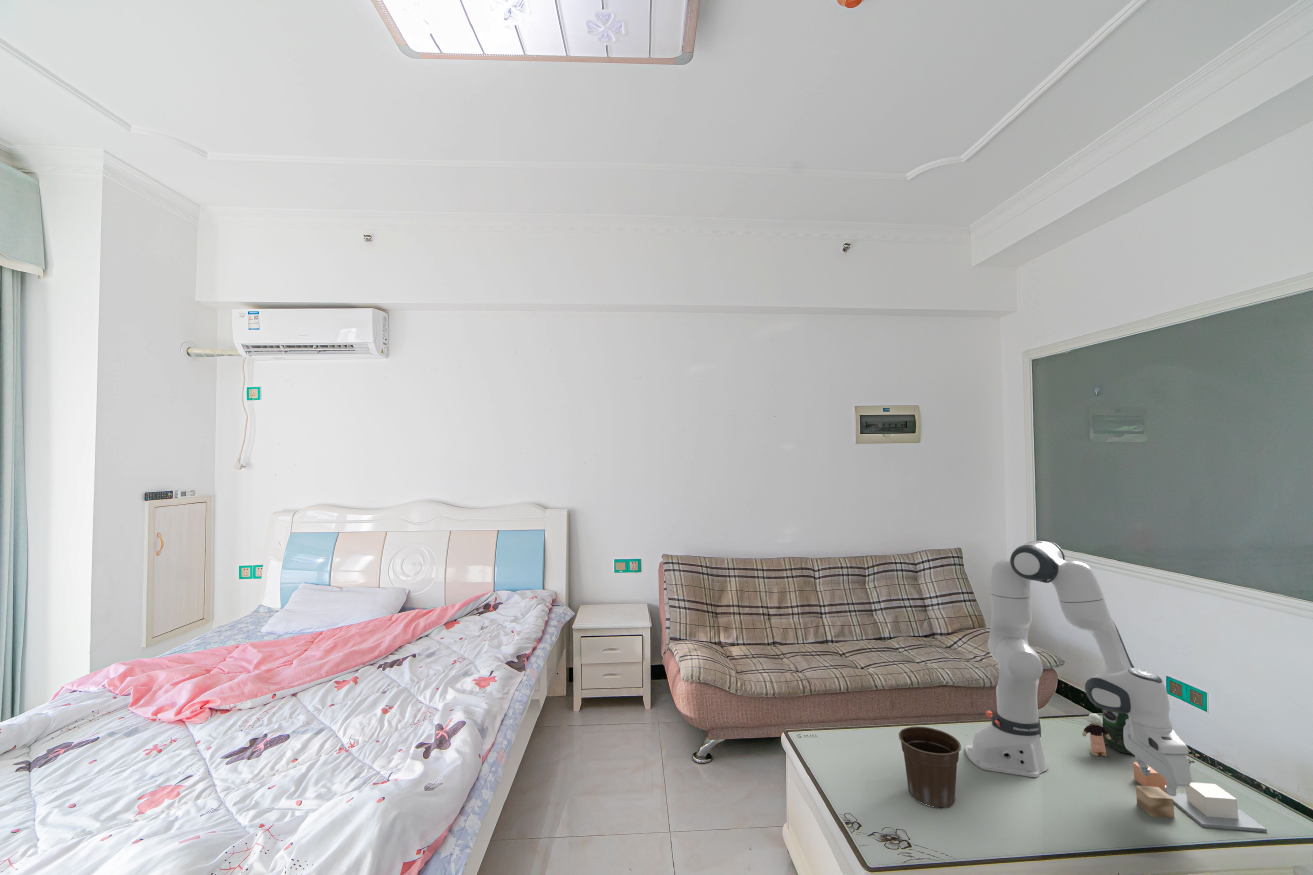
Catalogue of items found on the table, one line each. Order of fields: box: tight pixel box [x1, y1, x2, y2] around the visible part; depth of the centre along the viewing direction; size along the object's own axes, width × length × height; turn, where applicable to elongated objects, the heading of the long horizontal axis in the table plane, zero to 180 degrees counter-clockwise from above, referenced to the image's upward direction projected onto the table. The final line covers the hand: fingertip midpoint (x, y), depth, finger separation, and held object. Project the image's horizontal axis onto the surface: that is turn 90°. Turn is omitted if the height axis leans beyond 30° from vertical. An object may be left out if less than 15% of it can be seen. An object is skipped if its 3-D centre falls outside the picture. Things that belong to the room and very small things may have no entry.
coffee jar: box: [1101, 709, 1133, 755], centre depth 182 cm, size 10×8×19 cm
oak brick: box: [1135, 785, 1175, 819], centre depth 149 cm, size 6×6×5 cm
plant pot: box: [898, 726, 962, 809], centre depth 159 cm, size 16×16×16 cm
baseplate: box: [1164, 781, 1268, 833], centre depth 148 cm, size 14×14×6 cm
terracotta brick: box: [1132, 761, 1167, 792], centre depth 161 cm, size 6×6×5 cm
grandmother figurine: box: [1081, 712, 1111, 757], centre depth 178 cm, size 8×4×13 cm, turn 84°
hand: (1157, 783), depth 149 cm, fingers open, 8 cm apart
